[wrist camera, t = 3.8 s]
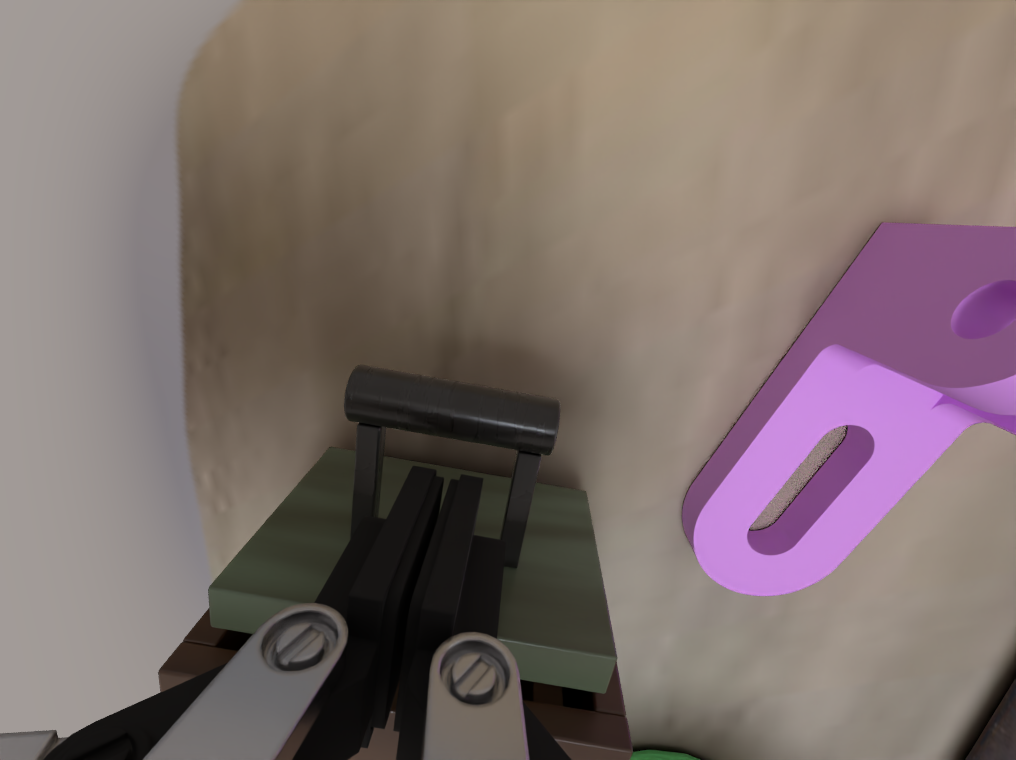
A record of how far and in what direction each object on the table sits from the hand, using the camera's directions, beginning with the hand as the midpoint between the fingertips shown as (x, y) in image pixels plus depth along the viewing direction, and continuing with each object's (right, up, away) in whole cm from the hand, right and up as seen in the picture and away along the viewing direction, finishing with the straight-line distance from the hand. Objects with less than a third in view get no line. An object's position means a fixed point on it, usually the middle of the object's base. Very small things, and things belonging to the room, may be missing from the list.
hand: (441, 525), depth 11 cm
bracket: (+13, +2, +6) cm, 14 cm away
